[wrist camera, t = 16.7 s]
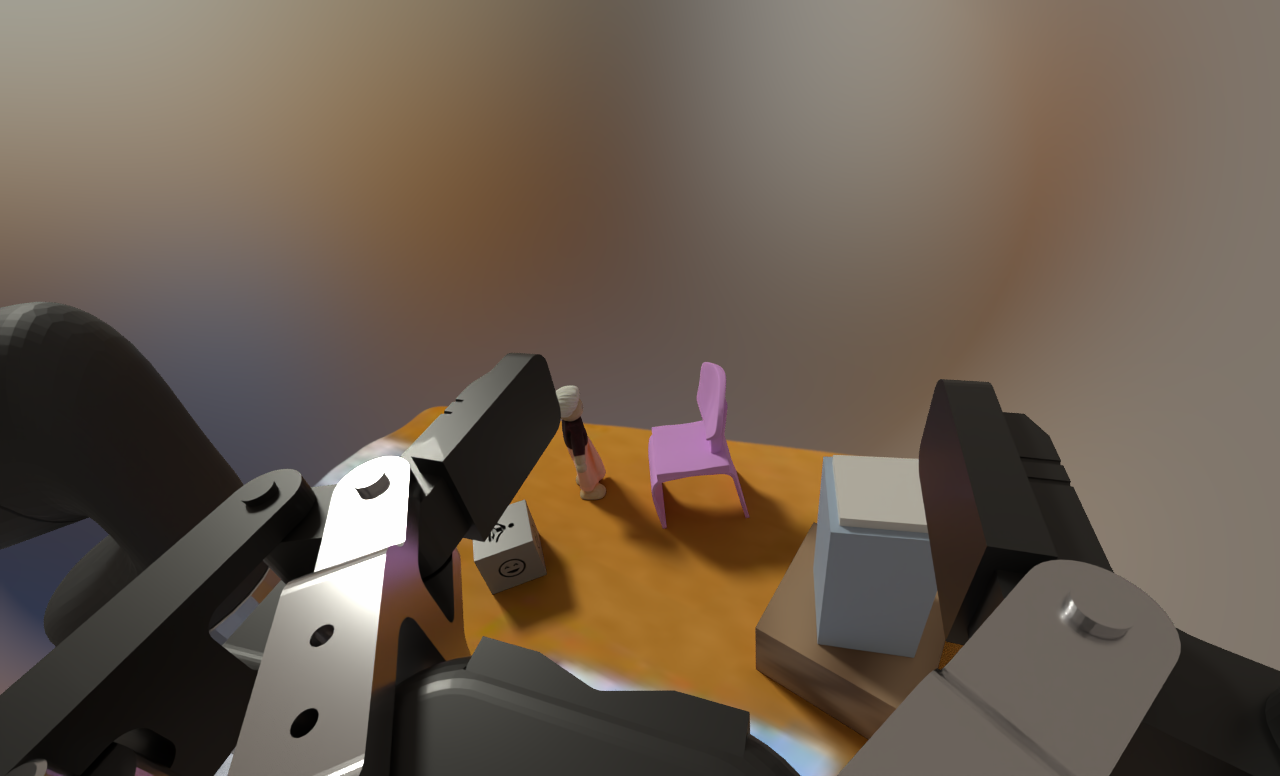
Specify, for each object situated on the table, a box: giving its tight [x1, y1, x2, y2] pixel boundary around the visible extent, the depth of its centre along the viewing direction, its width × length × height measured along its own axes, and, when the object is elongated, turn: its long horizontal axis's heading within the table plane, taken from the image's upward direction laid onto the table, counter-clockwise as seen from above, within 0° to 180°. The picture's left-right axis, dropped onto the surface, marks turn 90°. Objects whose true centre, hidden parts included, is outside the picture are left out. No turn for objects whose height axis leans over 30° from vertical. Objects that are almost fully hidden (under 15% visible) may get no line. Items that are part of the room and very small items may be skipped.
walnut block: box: [756, 523, 945, 739], centre depth 35 cm, size 10×10×6 cm
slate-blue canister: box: [813, 455, 937, 658], centre depth 29 cm, size 6×6×12 cm
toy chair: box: [649, 362, 749, 528], centre depth 45 cm, size 8×9×15 cm
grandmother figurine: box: [556, 386, 606, 500], centre depth 50 cm, size 8×4×13 cm, turn 26°
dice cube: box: [473, 500, 547, 595], centre depth 45 cm, size 5×5×5 cm
